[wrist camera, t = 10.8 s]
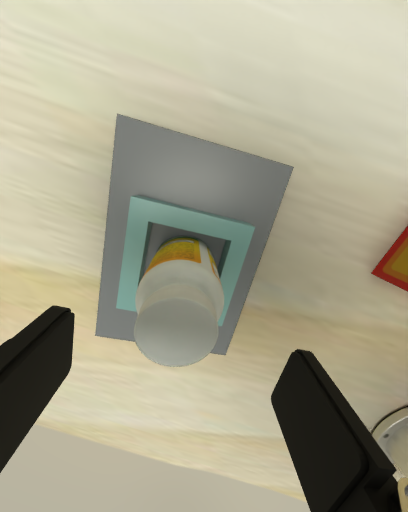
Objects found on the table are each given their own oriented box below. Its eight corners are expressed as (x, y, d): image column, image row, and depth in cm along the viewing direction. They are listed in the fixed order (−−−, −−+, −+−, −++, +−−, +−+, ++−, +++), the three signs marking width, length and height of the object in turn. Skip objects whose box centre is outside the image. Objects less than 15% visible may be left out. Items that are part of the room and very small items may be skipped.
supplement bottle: (225, 257, 18) (257, 326, 9) (189, 298, 20) (188, 393, 11) (178, 221, 17) (163, 261, 8) (143, 267, 18) (96, 346, 9)
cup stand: (288, 168, 17) (307, 164, 14) (224, 348, 23) (228, 370, 21) (121, 118, 15) (105, 102, 12) (99, 329, 21) (85, 350, 19)
